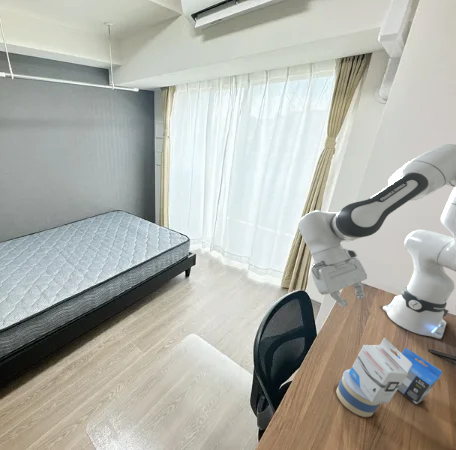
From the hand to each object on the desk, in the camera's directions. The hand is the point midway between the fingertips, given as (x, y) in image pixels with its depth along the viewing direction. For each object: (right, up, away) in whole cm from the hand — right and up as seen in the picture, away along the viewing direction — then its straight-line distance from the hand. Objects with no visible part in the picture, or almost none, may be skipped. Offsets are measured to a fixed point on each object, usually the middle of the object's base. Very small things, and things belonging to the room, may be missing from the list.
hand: (353, 301), depth 74 cm
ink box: (-1, -22, -6) cm, 23 cm away
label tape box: (+16, -27, +1) cm, 32 cm away
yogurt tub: (-2, -28, -3) cm, 28 cm away
